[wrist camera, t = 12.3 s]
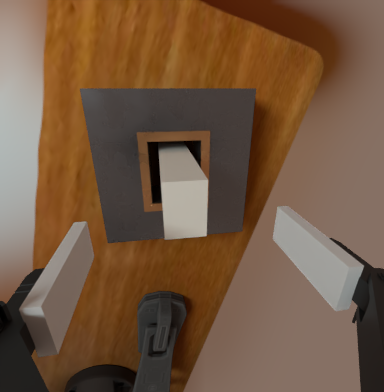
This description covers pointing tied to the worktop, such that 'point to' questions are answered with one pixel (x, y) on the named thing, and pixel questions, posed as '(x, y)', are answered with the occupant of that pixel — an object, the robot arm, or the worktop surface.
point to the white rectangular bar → (182, 192)
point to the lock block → (167, 131)
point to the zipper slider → (158, 339)
